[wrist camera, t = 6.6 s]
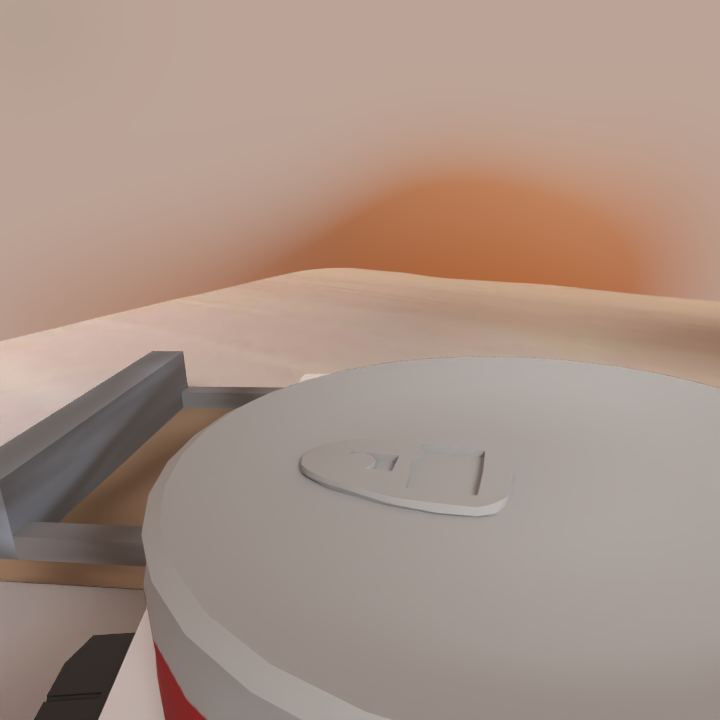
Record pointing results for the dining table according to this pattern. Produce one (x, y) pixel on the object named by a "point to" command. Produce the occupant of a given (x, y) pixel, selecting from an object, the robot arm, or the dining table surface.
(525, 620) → the canned food
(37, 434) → the slide board
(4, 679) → the dining table surface
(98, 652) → the robot arm
